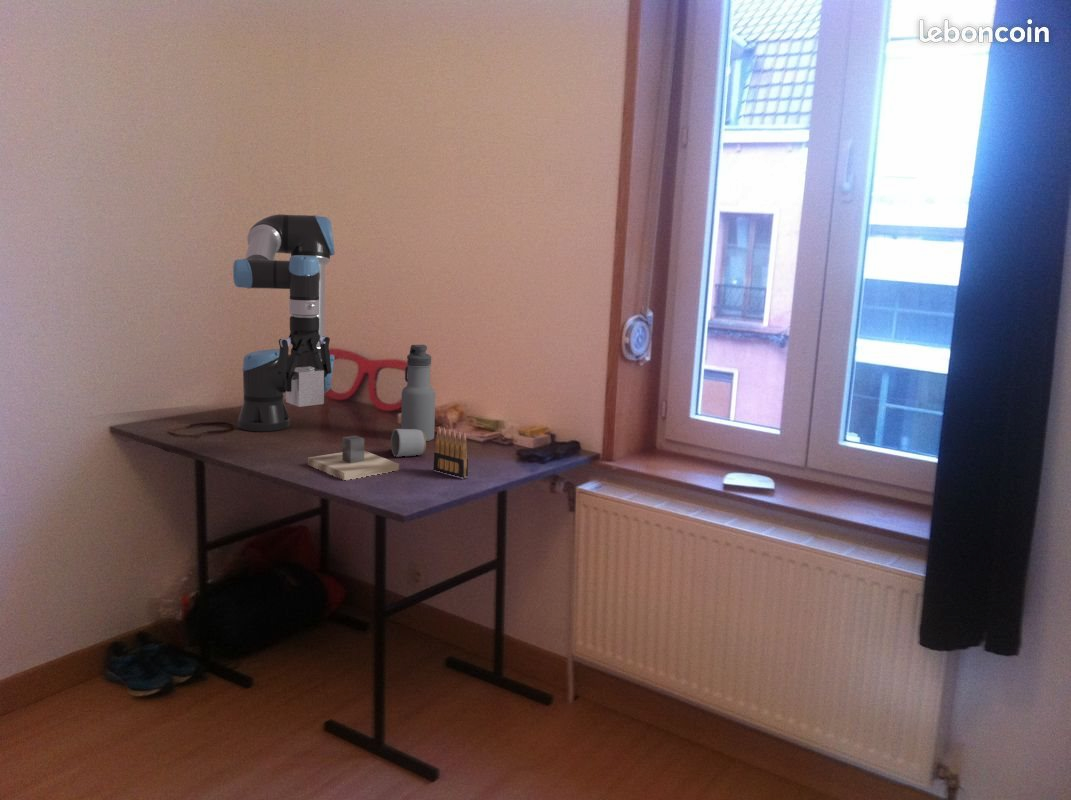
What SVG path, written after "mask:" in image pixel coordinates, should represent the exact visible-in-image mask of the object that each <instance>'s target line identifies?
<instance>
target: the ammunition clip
mask: <svg viewBox="0 0 1071 800" xmlns="http://www.w3.org/2000/svg"><path fill="white" fill-rule="evenodd" d="M436 431H437V432H436V439H435V452H433V467H432V468H433V469H432V470H436V471H440V472H443V473H447V474H451V475H455V476H459V477H463V478H464V477H466V476H468V477H469V459H468V458H467V457H468V456H467V454H468V447H467V436H466V432H463V433H462V435H461V432H460V430H458V431H457V433H456V430H455V429H453V430H452V432H451V429H450V428H448V429H447V431H446V428H445V427H443V428H442V430H441V427H440V426H438V427H437V430H436Z"/></svg>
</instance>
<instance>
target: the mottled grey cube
mask: <svg viewBox="0 0 1071 800" xmlns="http://www.w3.org/2000/svg"><path fill="white" fill-rule="evenodd" d="M292 379H294V380H295V404H293V406H295V407H297V408H298V407H299V408H302V407H308V406H318V405H324V404H325V392H324V370H321V369H317V368H314V367H311V366H308V367H297V368H295V371H294V374H293V377H292ZM285 402H286V403H288V399H287V391H286V393H285Z"/></svg>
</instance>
